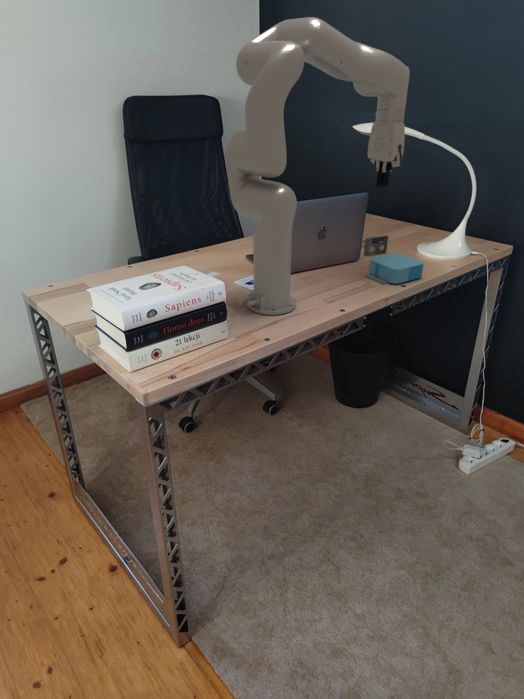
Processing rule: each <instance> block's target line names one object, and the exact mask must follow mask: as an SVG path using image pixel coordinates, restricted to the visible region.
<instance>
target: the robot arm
mask: <svg viewBox="0 0 524 699" xmlns="http://www.w3.org/2000/svg"><path fill="white" fill-rule="evenodd" d="M235 62H236V63H235V65H236V66H235V67H236V69H235V70H236V72H237V75H238V78H239V79H240V80H241V81H242V82H243V83H245V84H246V85H249V86H251V87H250V89H249V92H248V93H247V96H246V100H245V103H244V104H245V105H244V123H245V125H244V126H245V130H239V131H238V132H235V133H234V134H232V136H231V137H229V139H228V141H227V144H226V146H225V153H224V158H225V159H224V160H225V168H226V177H227V181H228V182H227V183H228V189H229V195H230V199H231V203H232V206H233V207H234V209H235V211H236V212H237V213H238V214H240V215H242V216H244V217H247V218H251V219H255V220H256V221H259V222H258V226H257V228H256V230H255V232H254V236H253V242H252V244H253V245H252V246H253V247H252V248H253V289H250V291H249V293H248V294H247V296H241V297H237V300H236V301H237V304H238V305H239V306H243V305H247V307H248V308H249V309H250V311H253V312H255V313H257V314H260V315H264V316H265V315H268V316H276V315H278V316H279V315H284V314H288V313H290V312H292V311H293V310H294V309H296V304H297V302H296V299H295V298H294V297H292V296H291V278H292V277H291V274H292V273H291V272H292V270H291V269H292V240H293V239H292V238H293V237H292V236H293V226H294V221H295V216H296V213H297V208H298V205H297V204H298V202H297V197H296V194H295V192H294V190H293V189H292V188H291V187H289V186H288V185H286V184H284V183H282V182H278V181H273V180H267V179H262V178H276V177H279V176H281V175H282V174H283V173H284V171H285V169H286V166H287V158H288V157H287V155H288V154H287V145H286V132H285V121H284V120H285V118H284V117H285V116H284V112H285V111H284V110H285V104H286V101H287V98H288V96H289V94H290V92H291V90H292V88H293V87H294V85H295V84H296V83H297V81H298V80H299V79H300V76H301V75H302V74H303V70H304V66H305V63H307V64H309V65H311V66H313V67H315V69H318V70H321V71H322V72H324V73H325V74H327V75H329V76H330V77H333V78H334V79H337V80H341V81H345V82H351V83H352V82H353V83H352V84H353V89H354V90H355V92H356V93H357V94H359V95H360V96H363V97H370V98H371V97H373V98H377V104H376V112H375V115H374V116H375V121H373V123H372V127H371V131H370V134H369V140H368V146H367V158H368V159H369V160H370V162H371V163H372V164H373V165H374V166H375V170H376V172H377V176H376V183H375V184H376V187H379V188H385V187H388V186H389V183H390V182H389V181H390V173H391V172H392V171H393V169H394V168H397V167H400V165H401V161H402V160H403V156H404V150H405V133H406V132H405V131H406V129H405V128H406V127H405V126H406V125H405V123H404V121H405V113H406V105H407V96H408V89H409V82H410V75H411V74H410V71H411V70H410V68H409V66H407V65H405V63H403V62H402V61H401V60H400V59H398V58H397V57H395V56H394V55H392V54H391V53H388V52H386V51H384V50H381V49H378V48H375V47H371V46H369V45H367V44H364V43H362V42H357V41H354V40H352V39H351V38H349V37H348V36H347V35H345V34H343V33H342V32H341V31H339V30H338V29H336V28H335V27H333V26H332V25H330V24H329V23H328V22H326V21H325V20H323V19H321V18H319V17H314V16H312V17H311V16H310V17H301V18H299V17H298V18H297V17H296V18H291V19H289V18H288V19H285V20H283V21H280V22H278V23H276V24H275V25H273V26H271V27H270V28H268V29H266V30H265V31H264V32H262V33H261V34H259V35H257V36H255V37H254V38H253V39H251V40H249V41H247V43H245V44H244V45H243V46H242V47H241V49H240V50H239V52H238V54H237V57H236V60H235Z"/></svg>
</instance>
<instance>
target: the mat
mask: <svg viewBox="0 0 524 699" xmlns="http://www.w3.org/2000/svg"><path fill="white" fill-rule="evenodd" d="M364 277H365V278H367V279H370V280H372V281H374V282H377V283H379V284H381V285H383V286H384V285H387V284H391V283H390V282H388V281H386V280H383V279H381V278H379V277H376V276H374V275H372V274H370V273H368V274H365V275H364Z"/></svg>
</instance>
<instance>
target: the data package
mask: <svg viewBox="0 0 524 699" xmlns="http://www.w3.org/2000/svg"><path fill="white" fill-rule="evenodd" d="M423 270H424V261H423V260H419V259H416V258H415V257H414V258H413V257H410V256H408V255H405V254H402V253H399V252H393V253H387V254H384V255H383V254H382V255H379V256H375V257H371V258H370V259H369V269H368V274H372V275H374V276H376V277H379V278H381V279H383V280H386V281H388V282H390V283H389V284H393V285H394V284H395V285H396V284H397V285H398V284H401V283H402V284H403V283H406V282H409V281H413V280H417V279H421V277H422V276H423Z"/></svg>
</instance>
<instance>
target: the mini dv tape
mask: <svg viewBox="0 0 524 699" xmlns="http://www.w3.org/2000/svg"><path fill="white" fill-rule="evenodd" d="M388 239H389V235H380V236H372V237H369V238H368V237H367V238H365V240H364V241H365V242H364V249H363V256H365V257H372V256H377V255H383V254H384V255H385V254H386V253H387V249H388V248H387V247H388Z"/></svg>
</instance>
